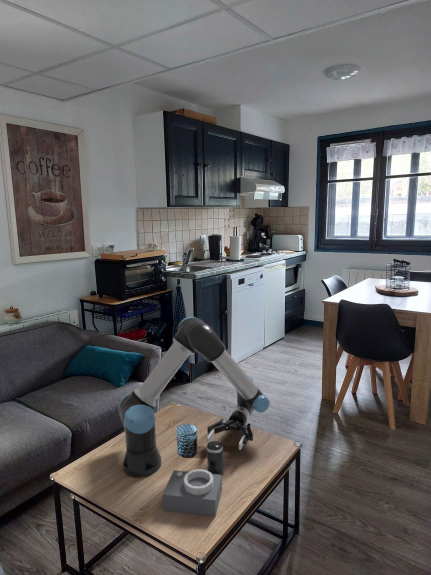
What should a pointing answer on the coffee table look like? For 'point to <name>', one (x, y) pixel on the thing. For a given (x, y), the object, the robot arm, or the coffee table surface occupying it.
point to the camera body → (193, 492)
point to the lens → (215, 457)
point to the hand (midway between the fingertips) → (223, 443)
